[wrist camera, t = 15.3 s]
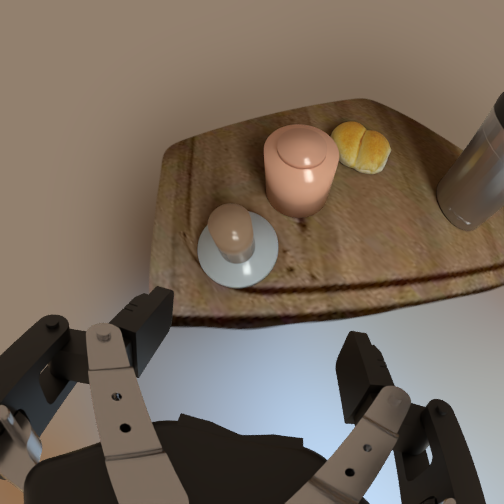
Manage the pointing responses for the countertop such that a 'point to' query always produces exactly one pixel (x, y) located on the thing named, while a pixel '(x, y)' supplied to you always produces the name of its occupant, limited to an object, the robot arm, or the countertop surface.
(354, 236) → the countertop surface
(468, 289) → the countertop surface
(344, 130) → the bread roll
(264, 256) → the lid
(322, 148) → the canister
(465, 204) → the robot arm
